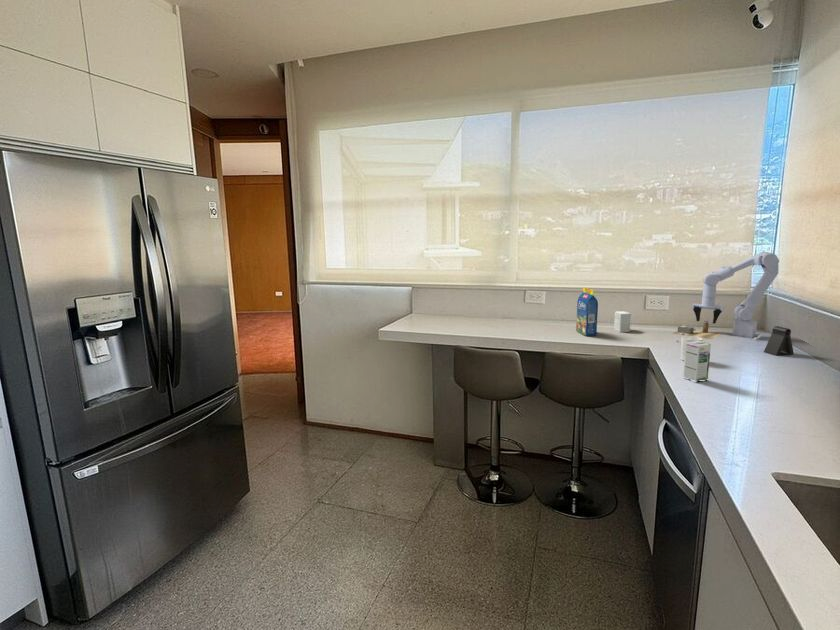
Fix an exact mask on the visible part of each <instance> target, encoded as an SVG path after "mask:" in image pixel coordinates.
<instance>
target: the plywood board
mask: <svg viewBox="0 0 840 630" xmlns="http://www.w3.org/2000/svg"><path fill="white" fill-rule="evenodd" d="M674 334H676V335H681V336H695V337H700V338H702V339H706V340H707V339H708V340H712V339H714V338H716V337H718V336H721V335H722V333H719V332H713V331H711V332H710V331H708V333H703V330H698V329H695V328H694V332H693V333H691V334H686V333H680V332H678V330H677V331H675V332H673V335H674Z"/></svg>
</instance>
